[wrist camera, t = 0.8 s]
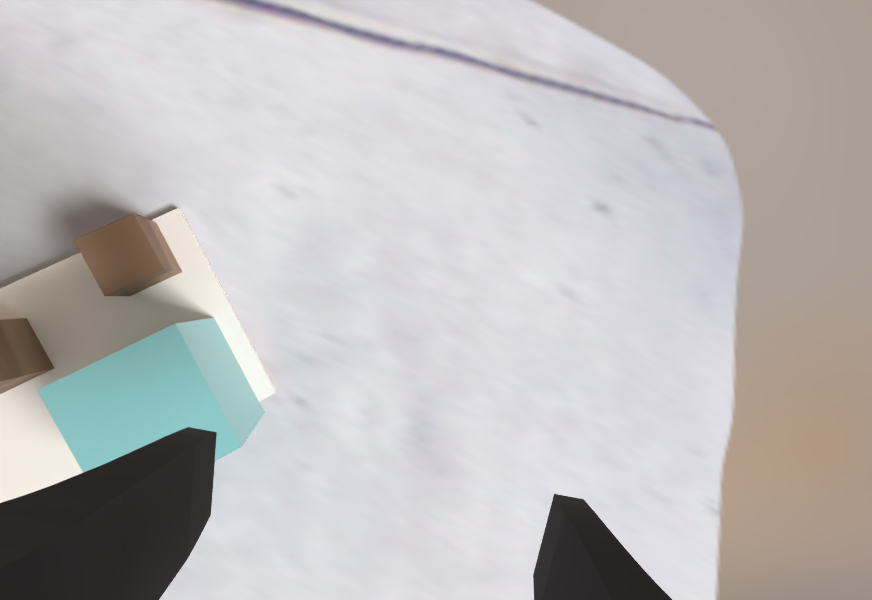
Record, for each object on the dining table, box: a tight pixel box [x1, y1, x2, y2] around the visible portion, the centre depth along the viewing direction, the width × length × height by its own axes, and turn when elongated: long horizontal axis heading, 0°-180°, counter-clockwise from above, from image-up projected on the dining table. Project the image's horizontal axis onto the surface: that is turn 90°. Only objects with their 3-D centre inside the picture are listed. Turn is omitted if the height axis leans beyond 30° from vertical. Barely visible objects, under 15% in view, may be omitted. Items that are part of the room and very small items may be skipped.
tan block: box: [74, 214, 182, 296], centre depth 26 cm, size 3×3×3 cm
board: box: [0, 208, 277, 503], centre depth 27 cm, size 13×10×1 cm
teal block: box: [37, 318, 265, 472], centre depth 24 cm, size 5×5×7 cm
